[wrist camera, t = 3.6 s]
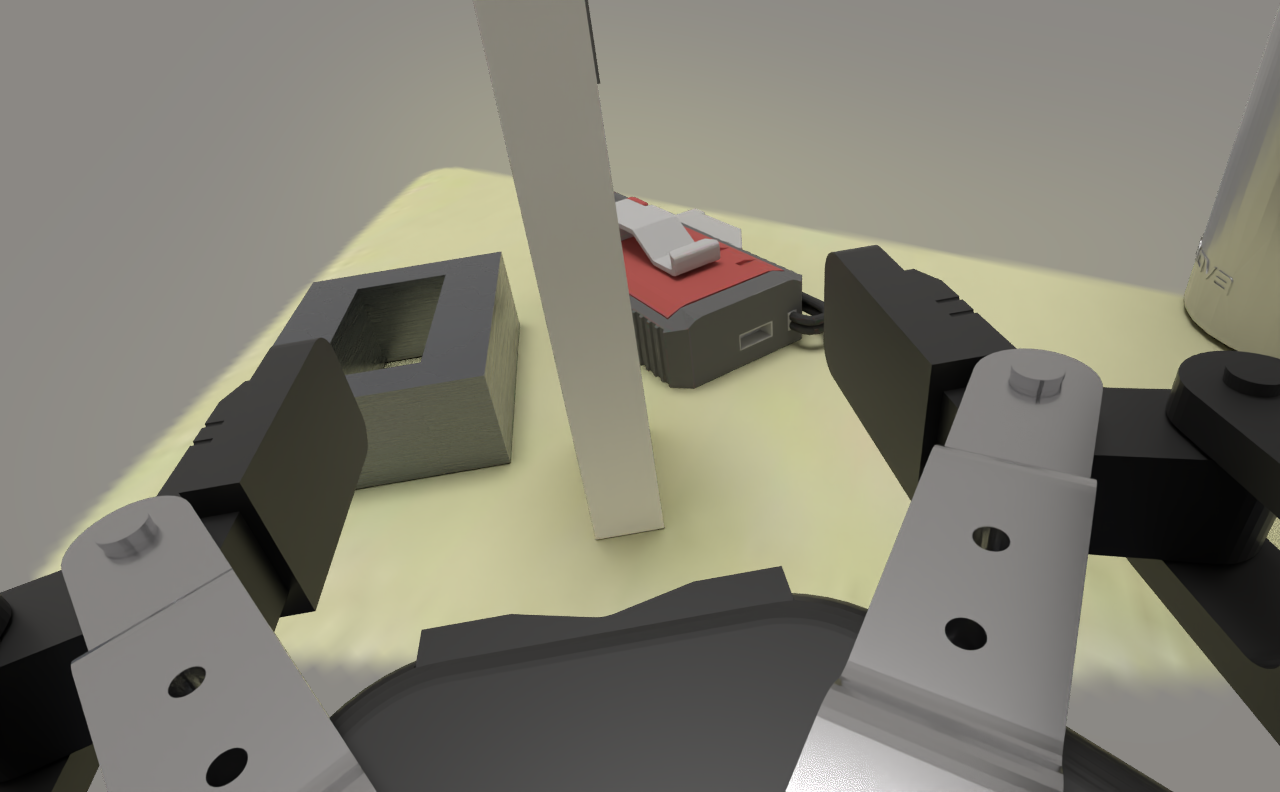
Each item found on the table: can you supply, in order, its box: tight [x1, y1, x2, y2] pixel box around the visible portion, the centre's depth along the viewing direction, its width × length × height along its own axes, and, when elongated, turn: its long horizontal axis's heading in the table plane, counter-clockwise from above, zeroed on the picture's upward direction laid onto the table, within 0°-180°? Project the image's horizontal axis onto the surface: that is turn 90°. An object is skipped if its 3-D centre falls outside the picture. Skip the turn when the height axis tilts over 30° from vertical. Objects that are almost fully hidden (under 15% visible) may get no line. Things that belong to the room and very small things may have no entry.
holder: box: [273, 252, 520, 489], centre depth 27 cm, size 10×8×4 cm
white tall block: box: [473, 0, 664, 540], centre depth 19 cm, size 5×2×15 cm, turn 6°
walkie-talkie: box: [614, 192, 824, 389], centre depth 33 cm, size 9×4×20 cm
